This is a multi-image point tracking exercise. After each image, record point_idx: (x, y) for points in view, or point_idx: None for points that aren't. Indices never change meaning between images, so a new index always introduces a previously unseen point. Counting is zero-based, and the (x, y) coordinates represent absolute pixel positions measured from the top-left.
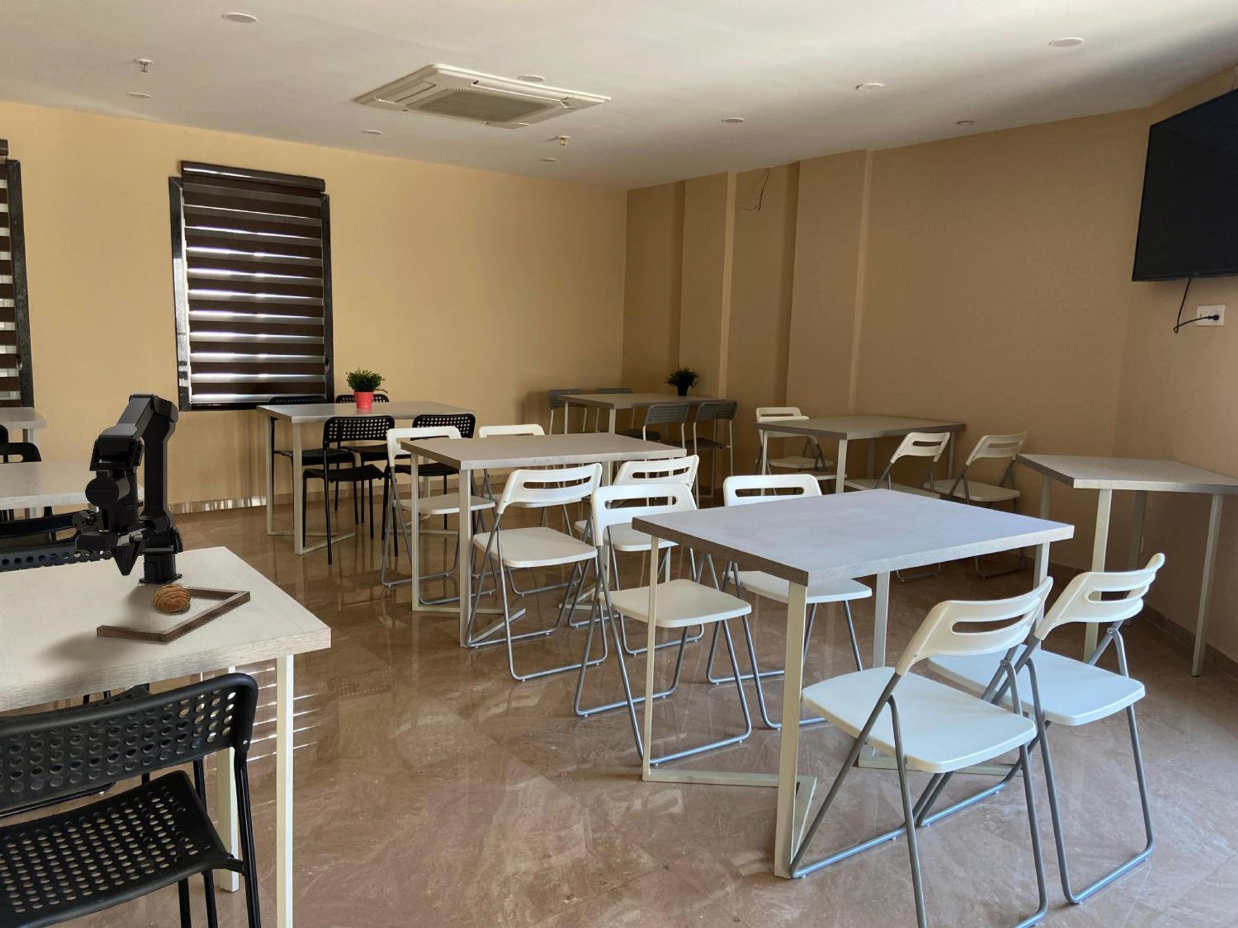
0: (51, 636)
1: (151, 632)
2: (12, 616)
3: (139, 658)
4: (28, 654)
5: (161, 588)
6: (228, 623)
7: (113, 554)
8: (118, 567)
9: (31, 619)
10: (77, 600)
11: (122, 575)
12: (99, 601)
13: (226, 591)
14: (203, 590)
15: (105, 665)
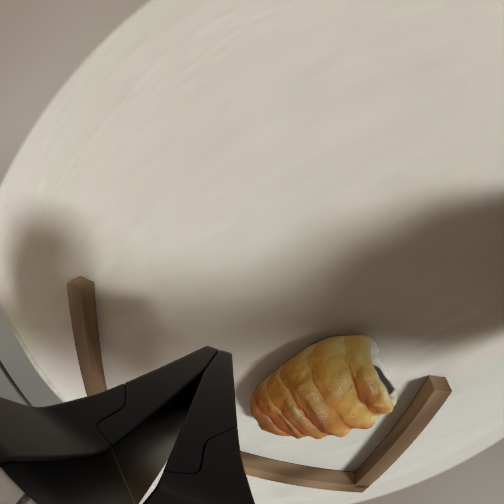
0: (63, 174)
1: (85, 388)
2: None
3: (48, 369)
4: (11, 199)
5: (363, 381)
6: None
7: (76, 412)
8: (167, 365)
9: (171, 23)
10: (386, 39)
11: (206, 347)
12: (386, 117)
13: (372, 469)
14: (402, 431)
15: (22, 333)
